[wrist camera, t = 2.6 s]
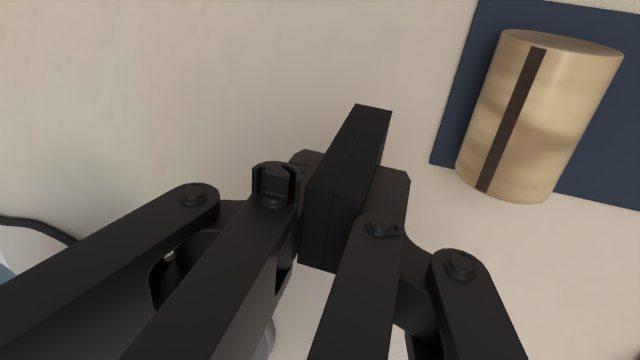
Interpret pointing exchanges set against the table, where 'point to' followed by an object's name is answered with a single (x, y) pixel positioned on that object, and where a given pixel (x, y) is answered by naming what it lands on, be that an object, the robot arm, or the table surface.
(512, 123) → the roller
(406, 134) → the table surface
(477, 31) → the board
